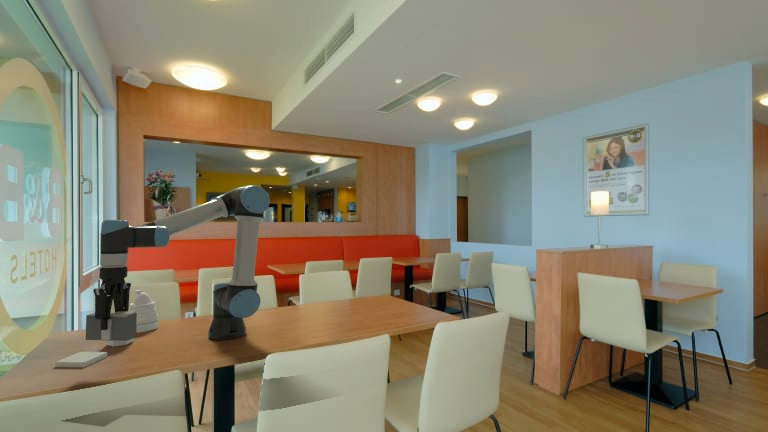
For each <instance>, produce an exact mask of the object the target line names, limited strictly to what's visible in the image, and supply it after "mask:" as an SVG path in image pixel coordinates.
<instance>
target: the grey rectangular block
mask: <svg viewBox="0 0 768 432" xmlns="http://www.w3.org/2000/svg"><path fill="white" fill-rule="evenodd" d="M105 316H106V315H105ZM109 319H112V323H111V339H110V341H128V340H131V339H133V338H134V339H135V338H137V333H136V323H137V313H136V312H132V311H130V310H128V311H118V312H115V311H114V312H111V313H110V318H109ZM85 320H86V321H85V341H102V340H101V320H98V319H95V312H94V313H89V314H86V318H85Z"/></svg>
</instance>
